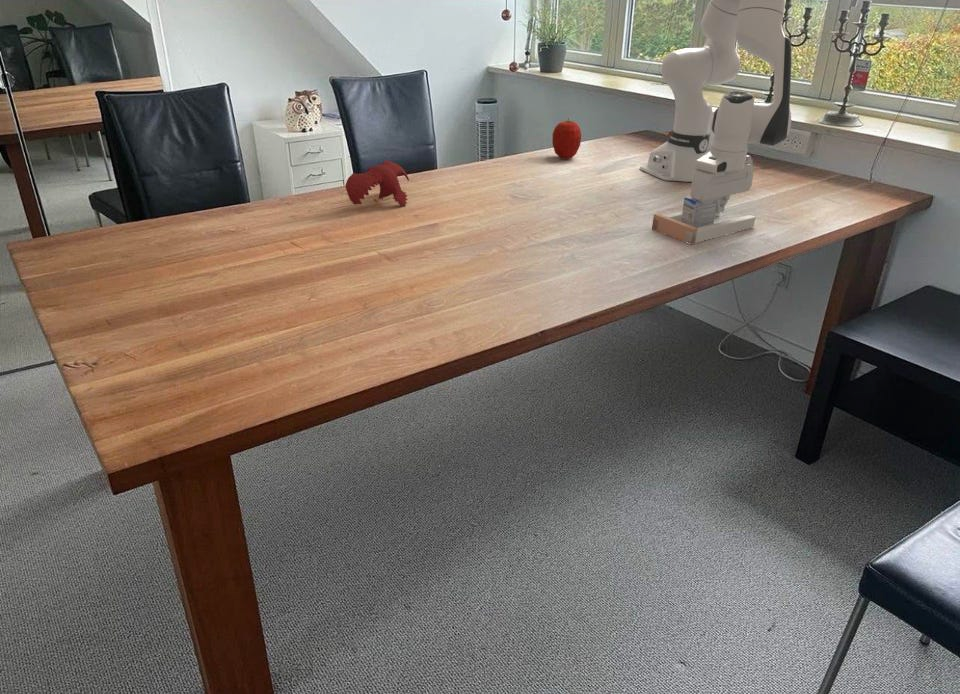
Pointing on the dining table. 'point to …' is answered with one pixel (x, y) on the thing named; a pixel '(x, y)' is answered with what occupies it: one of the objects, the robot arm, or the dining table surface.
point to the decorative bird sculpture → (377, 175)
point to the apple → (566, 139)
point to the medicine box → (698, 212)
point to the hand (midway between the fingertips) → (717, 212)
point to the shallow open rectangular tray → (692, 234)
